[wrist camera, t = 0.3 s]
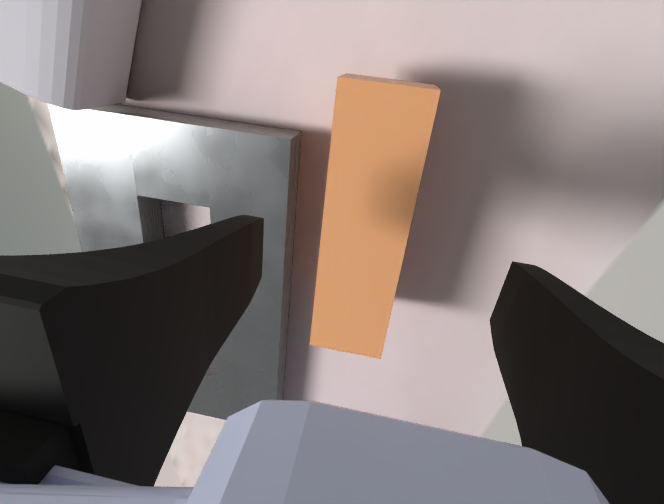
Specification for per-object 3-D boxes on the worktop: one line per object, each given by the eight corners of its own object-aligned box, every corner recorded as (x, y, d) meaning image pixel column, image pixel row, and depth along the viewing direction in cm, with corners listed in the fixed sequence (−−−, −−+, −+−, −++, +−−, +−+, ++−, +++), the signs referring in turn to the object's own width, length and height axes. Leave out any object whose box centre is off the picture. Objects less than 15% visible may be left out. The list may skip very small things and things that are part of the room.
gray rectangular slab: (282, 407, 29) (274, 430, 27) (131, 375, 30) (114, 395, 28) (300, 131, 19) (290, 139, 17) (78, 99, 20) (47, 103, 19)
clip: (385, 300, 23) (380, 358, 19) (327, 289, 23) (309, 344, 19) (431, 80, 17) (440, 90, 13) (353, 70, 18) (337, 76, 13)
